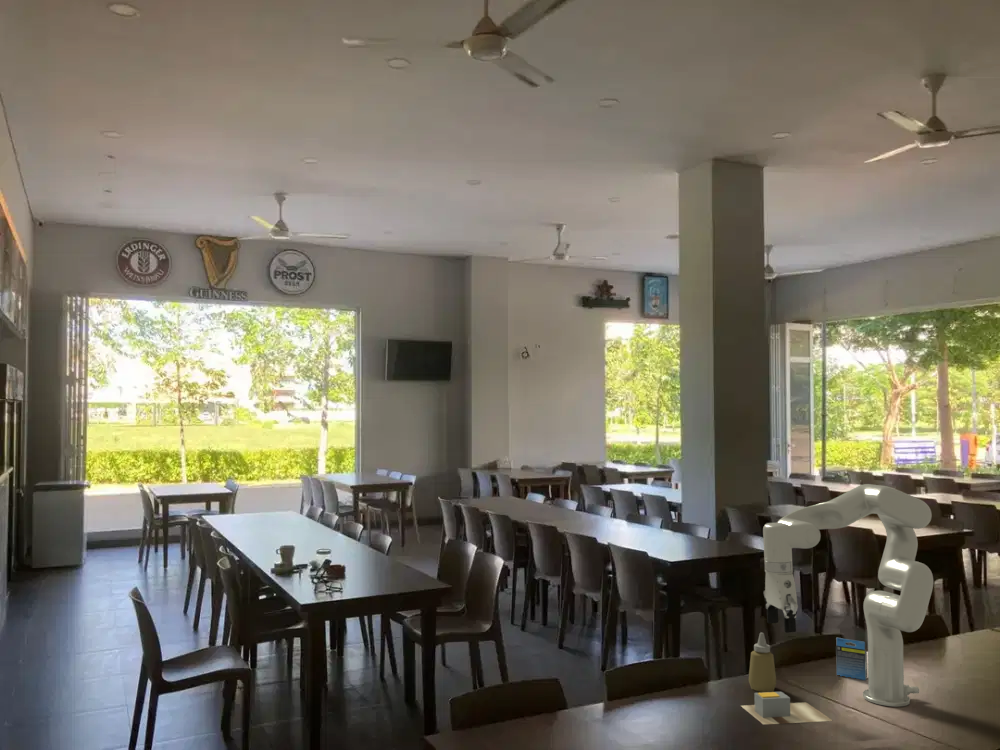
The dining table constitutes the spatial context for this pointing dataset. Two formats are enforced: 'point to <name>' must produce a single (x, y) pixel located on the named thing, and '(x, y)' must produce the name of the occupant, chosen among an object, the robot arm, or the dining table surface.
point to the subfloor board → (791, 714)
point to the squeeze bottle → (762, 667)
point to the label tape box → (851, 659)
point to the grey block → (772, 704)
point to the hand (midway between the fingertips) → (781, 627)
